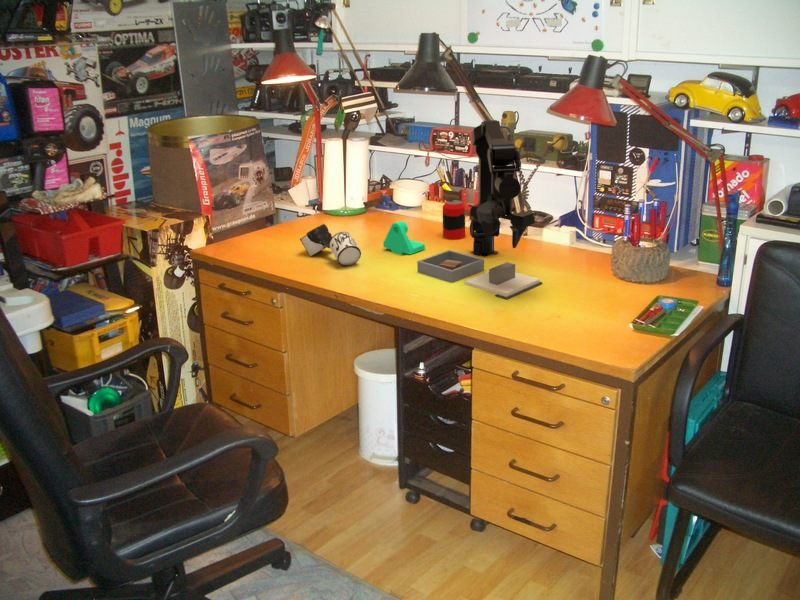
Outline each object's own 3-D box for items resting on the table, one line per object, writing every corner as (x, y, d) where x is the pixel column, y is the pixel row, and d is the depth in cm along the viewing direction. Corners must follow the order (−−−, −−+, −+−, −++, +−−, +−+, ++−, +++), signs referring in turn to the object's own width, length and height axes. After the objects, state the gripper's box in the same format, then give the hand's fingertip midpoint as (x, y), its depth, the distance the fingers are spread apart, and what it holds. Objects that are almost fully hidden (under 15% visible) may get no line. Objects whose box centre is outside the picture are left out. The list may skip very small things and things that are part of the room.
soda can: (457, 232, 274) (457, 198, 270) (469, 237, 268) (469, 202, 264) (438, 235, 271) (438, 201, 266) (450, 241, 265) (450, 206, 260)
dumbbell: (369, 263, 246) (367, 233, 243) (344, 271, 240) (342, 240, 236) (320, 247, 264) (318, 218, 260) (296, 254, 258) (293, 224, 254)
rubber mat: (498, 271, 235) (498, 270, 235) (542, 283, 224) (542, 282, 224) (462, 286, 225) (462, 284, 225) (506, 299, 214) (506, 297, 214)
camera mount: (426, 251, 256) (425, 221, 252) (410, 257, 251) (409, 226, 247) (399, 244, 264) (398, 214, 260) (383, 250, 259) (382, 220, 255)
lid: (498, 270, 234) (498, 254, 232) (539, 282, 224) (540, 265, 222) (464, 284, 225) (464, 267, 223) (506, 297, 214) (506, 279, 213)
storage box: (449, 262, 245) (449, 249, 243) (484, 272, 235) (484, 259, 234) (417, 273, 236) (417, 261, 234) (452, 284, 226) (452, 271, 225)
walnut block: (447, 267, 238) (447, 259, 237) (462, 269, 236) (462, 261, 235) (439, 272, 234) (439, 264, 233) (454, 274, 232) (454, 266, 231)
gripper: (456, 190, 216) (457, 244, 222) (510, 201, 204) (509, 258, 209) (483, 182, 223) (482, 235, 229) (536, 192, 211) (535, 248, 216)
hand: (501, 244), depth 221 cm, fingers open, 9 cm apart
